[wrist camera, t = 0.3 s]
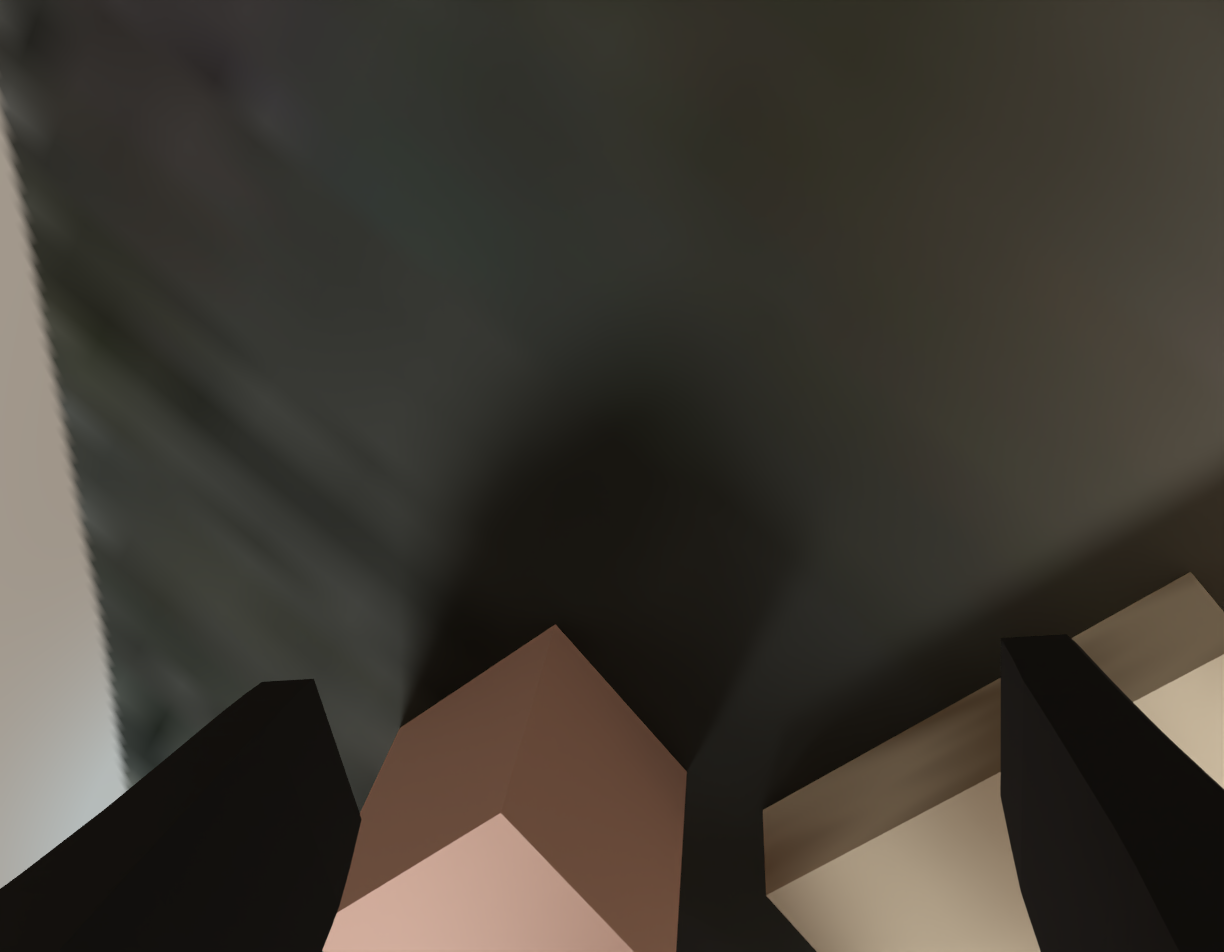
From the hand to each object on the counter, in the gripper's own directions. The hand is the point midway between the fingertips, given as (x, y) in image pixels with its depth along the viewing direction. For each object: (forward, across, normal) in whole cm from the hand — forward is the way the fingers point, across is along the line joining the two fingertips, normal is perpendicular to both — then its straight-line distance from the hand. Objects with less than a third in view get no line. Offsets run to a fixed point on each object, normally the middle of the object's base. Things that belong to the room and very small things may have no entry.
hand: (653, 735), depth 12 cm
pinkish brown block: (+10, +4, +8) cm, 13 cm away
